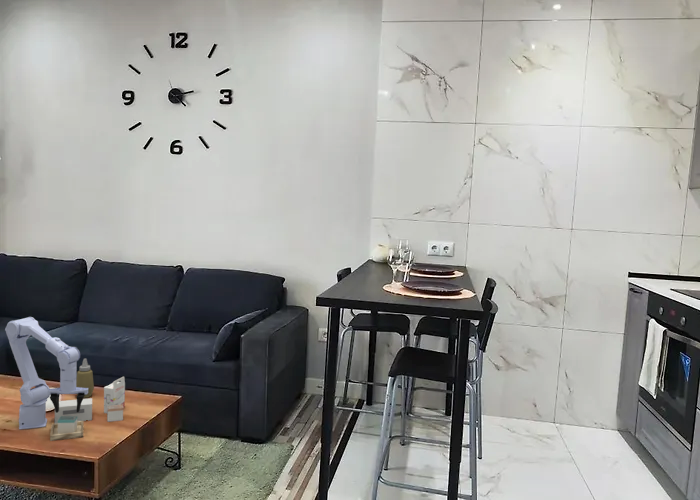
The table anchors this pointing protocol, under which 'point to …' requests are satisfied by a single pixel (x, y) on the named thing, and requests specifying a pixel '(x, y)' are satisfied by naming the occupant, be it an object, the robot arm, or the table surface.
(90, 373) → the squeeze bottle
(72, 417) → the small white teal box
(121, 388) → the ink cartridge box
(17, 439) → the table surface
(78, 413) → the printer unit
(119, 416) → the light grey block
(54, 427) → the oak tray
